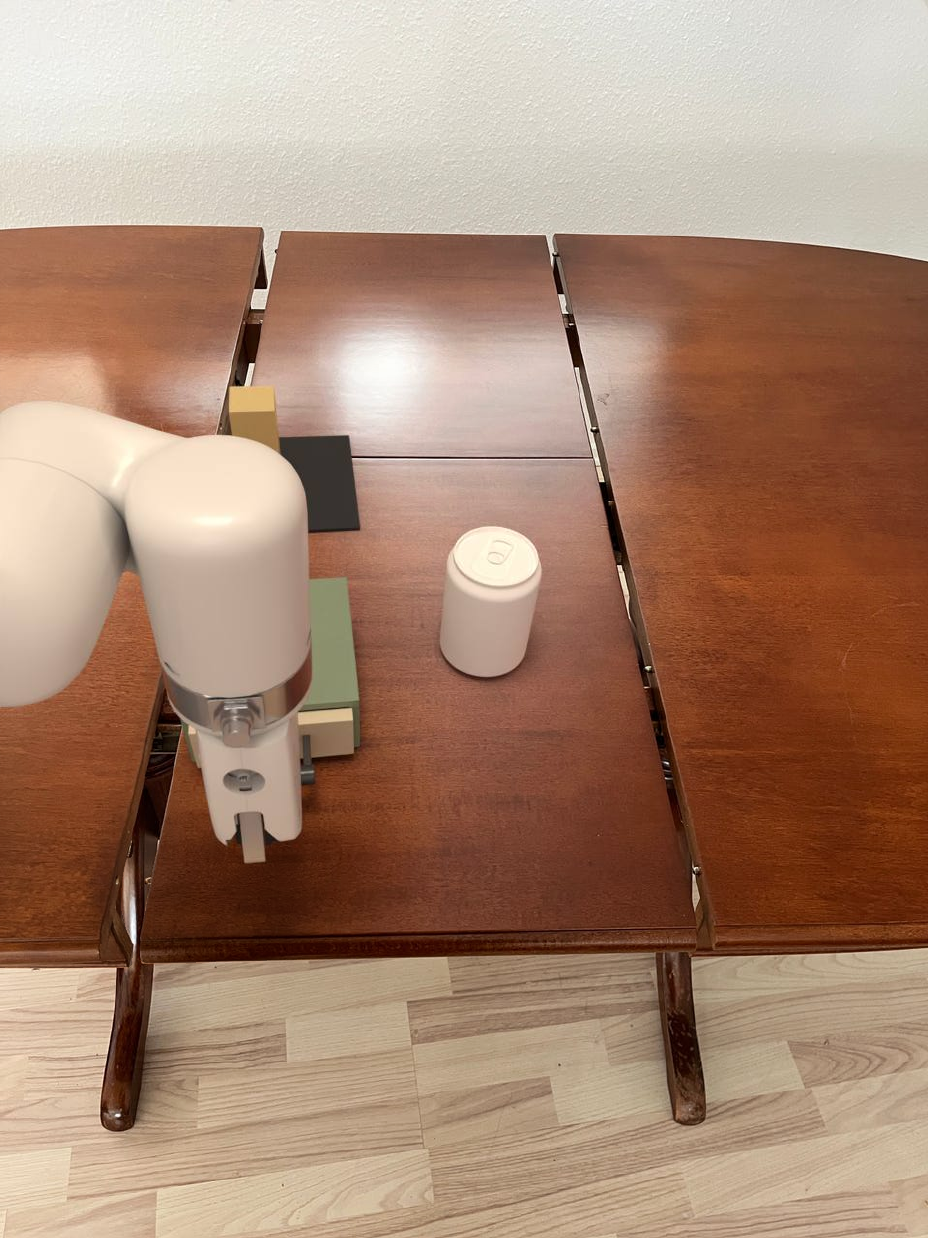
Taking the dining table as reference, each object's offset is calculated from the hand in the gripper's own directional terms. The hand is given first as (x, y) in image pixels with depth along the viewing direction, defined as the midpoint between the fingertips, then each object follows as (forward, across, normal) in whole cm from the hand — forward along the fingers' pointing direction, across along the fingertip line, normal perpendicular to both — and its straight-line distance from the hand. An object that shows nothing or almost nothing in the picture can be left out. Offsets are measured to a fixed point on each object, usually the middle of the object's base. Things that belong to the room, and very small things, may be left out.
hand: (261, 832), depth 58 cm
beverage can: (+7, +21, -20) cm, 30 cm away
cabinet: (+8, +18, -1) cm, 19 cm away
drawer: (+7, +14, -1) cm, 15 cm away
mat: (+8, +46, 0) cm, 46 cm away
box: (+7, +46, 0) cm, 46 cm away
